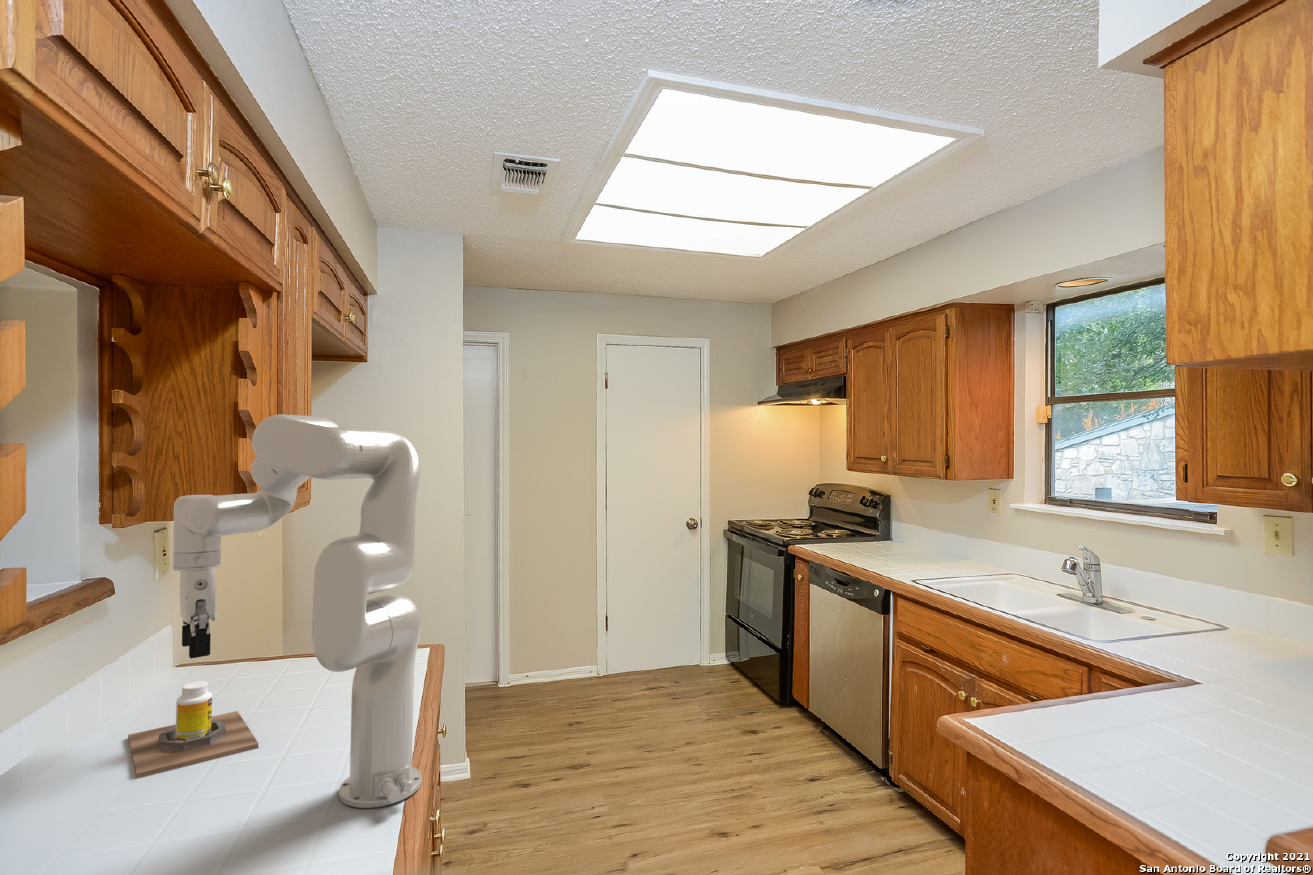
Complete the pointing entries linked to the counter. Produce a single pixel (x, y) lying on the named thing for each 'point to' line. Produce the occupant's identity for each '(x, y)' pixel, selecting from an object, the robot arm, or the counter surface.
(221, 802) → the counter surface
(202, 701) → the supplement bottle
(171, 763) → the ring board
